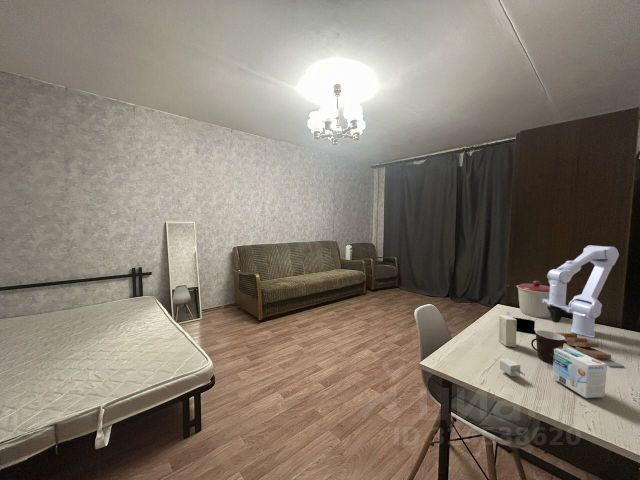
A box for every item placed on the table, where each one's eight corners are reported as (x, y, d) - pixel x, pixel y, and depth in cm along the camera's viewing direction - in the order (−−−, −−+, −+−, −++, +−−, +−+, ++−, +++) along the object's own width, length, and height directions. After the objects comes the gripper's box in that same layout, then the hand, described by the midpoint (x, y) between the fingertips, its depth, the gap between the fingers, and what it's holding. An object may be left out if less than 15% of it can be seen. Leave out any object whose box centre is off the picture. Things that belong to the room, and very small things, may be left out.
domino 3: (566, 341, 110) (585, 342, 102) (578, 341, 110) (598, 343, 101) (567, 345, 110) (586, 347, 101) (579, 345, 109) (599, 347, 101)
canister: (553, 324, 133) (556, 286, 132) (512, 315, 147) (513, 280, 145) (557, 316, 145) (559, 281, 143) (518, 308, 158) (520, 276, 157)
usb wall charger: (509, 368, 92) (509, 358, 92) (526, 380, 85) (527, 369, 85) (499, 369, 91) (500, 359, 91) (516, 381, 85) (517, 369, 84)
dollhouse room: (506, 330, 126) (507, 317, 125) (503, 322, 136) (504, 310, 136) (537, 335, 120) (538, 322, 119) (531, 326, 130) (532, 314, 130)
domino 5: (598, 357, 101) (623, 370, 92) (585, 357, 102) (609, 369, 93) (598, 353, 101) (624, 366, 92) (585, 353, 102) (610, 365, 93)
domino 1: (548, 332, 119) (564, 333, 111) (560, 332, 119) (576, 334, 110) (549, 335, 119) (565, 337, 110) (560, 336, 118) (577, 337, 110)
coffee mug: (555, 355, 101) (557, 331, 100) (568, 366, 93) (570, 341, 92) (521, 350, 105) (522, 328, 104) (531, 361, 97) (532, 336, 96)
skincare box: (516, 347, 108) (517, 320, 107) (505, 346, 109) (506, 319, 108) (508, 340, 114) (509, 315, 113) (497, 339, 115) (499, 314, 114)
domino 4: (575, 345, 106) (596, 354, 97) (588, 346, 105) (610, 354, 96) (575, 349, 106) (596, 358, 97) (588, 350, 105) (611, 359, 96)
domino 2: (556, 336, 115) (574, 338, 106) (568, 337, 114) (586, 338, 106) (557, 340, 114) (575, 342, 106) (569, 340, 114) (588, 342, 105)
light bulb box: (551, 377, 87) (553, 347, 86) (568, 376, 87) (570, 347, 86) (586, 398, 76) (588, 365, 75) (605, 397, 77) (608, 364, 76)
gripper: (536, 290, 125) (535, 316, 126) (562, 298, 111) (560, 328, 111) (551, 290, 125) (549, 316, 125) (579, 299, 110) (577, 328, 111)
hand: (555, 322), depth 118 cm, fingers closed
